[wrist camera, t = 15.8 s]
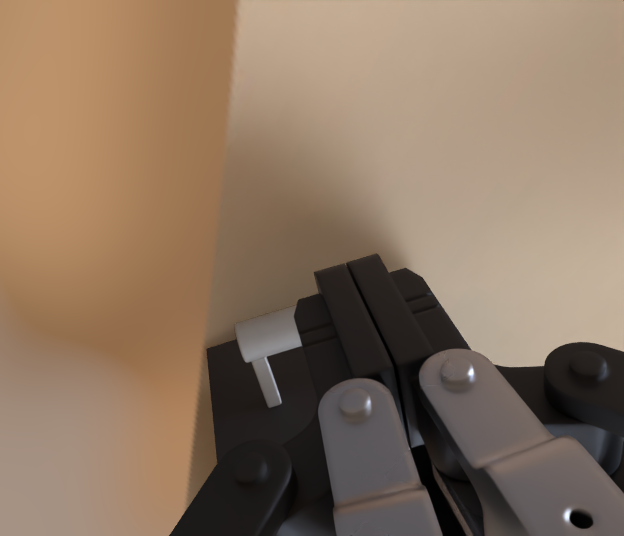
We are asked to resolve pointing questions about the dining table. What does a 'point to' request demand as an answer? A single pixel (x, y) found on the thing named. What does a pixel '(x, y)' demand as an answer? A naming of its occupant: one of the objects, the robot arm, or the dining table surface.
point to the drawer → (282, 396)
